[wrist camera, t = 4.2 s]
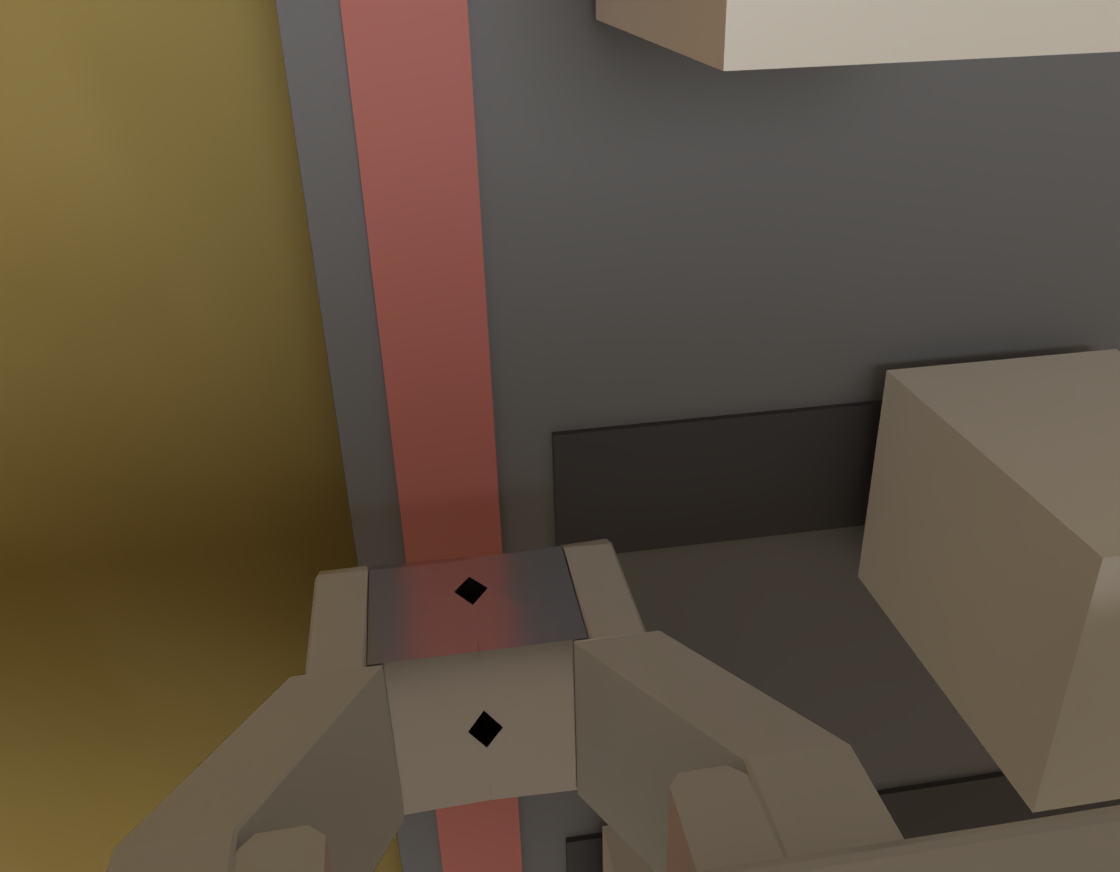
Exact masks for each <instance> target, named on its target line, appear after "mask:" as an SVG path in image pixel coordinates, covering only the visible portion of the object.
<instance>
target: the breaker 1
mask: <svg viewBox="0 0 1120 872" xmlns="http://www.w3.org/2000/svg"><path fill="white" fill-rule="evenodd" d="M602 831H603V872H654V871H653V870H652V869H651V868H650V867H649V866H648V865H647V864H646V863H645V862H644V861H643V860H642V859H641V857H640V856H639V855H638V854H637V853H636V852H635V851H634V850H633V849H632V848H631V847H630V846H629V845H628V844H627V843H626V842H625V841H624V840H623V839H622V838H621V837H620V836H619V835H618V834H617V833H616V832H615V831H614V830H613V829H612V828H611V827H610V826H609V825H607V826H602Z"/></svg>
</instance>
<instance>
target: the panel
mask: <svg viewBox="0 0 1120 872" xmlns="http://www.w3.org/2000/svg"><path fill="white" fill-rule="evenodd" d="M275 1H276V8H277V15H278V22H279V28H280V35H281V42H282V49H283V56H284V63H285V70H286V76H287V83H288V90H289V97H290V104H291V111H292V117H293V124H294V131H295V138H296V145H297V152H298V159H299V165H300V172H301V179H302V186H303V193H304V200H305V206H306V213H307V220H308V227H309V234H310V241H311V248H312V254H313V261H314V268H315V275H316V282H317V289H318V296H319V302H320V309H321V316H322V323H323V330H324V337H325V343H326V350H327V357H328V364H329V371H330V378H331V385H332V391H333V398H334V405H335V412H336V419H337V426H338V432H339V439H340V446H341V453H342V460H343V467H344V474H345V480H346V487H347V494H348V501H349V508H350V515H351V521H352V528H353V535H354V542H355V549H356V556H357V563H358V567H360V566H367V567H368V568H370V566H372V565H383V564H394V563H405V562H416V561H427V560H438V559H449V558H460V557H467V558H472V557H480V556H487V555H495V554H503V553H510V552H518V551H526V550H533V549H541V548H549V547H556V546H561V545H565V544H572V543H579V542H586V541H593V540H599V539H608V540H609V541H610V542H612V544H613V547H614V550H615V552H616V555H617V557H618V560H619V563H620V565H621V568H622V571H623V573H624V576H625V578H626V581H627V584H628V586H629V589H630V591H631V594H632V597H633V599H634V602H635V605H636V607H637V610H638V612H639V615H640V618H641V620H642V623H643V625H644V628H645V631H646V632H651V631H661V632H663V633H665V634H666V635H668V636H670V637H671V638H673V639H675V640H676V641H678V642H680V643H681V644H683V645H685V646H686V647H688V648H690V649H691V650H693V651H695V652H696V653H698V654H700V655H701V656H703V657H705V658H706V659H708V660H710V661H711V662H713V663H715V664H716V665H718V666H720V667H721V668H723V669H725V670H726V671H728V672H730V673H731V674H733V675H735V676H736V677H738V678H740V679H741V680H743V681H745V682H746V683H748V684H750V685H751V686H753V687H755V688H756V689H758V690H760V691H761V692H763V693H765V694H766V695H768V696H770V697H771V698H773V699H775V700H776V701H778V702H780V703H781V704H783V705H785V706H786V707H788V708H790V709H791V710H793V711H795V712H796V713H798V714H800V715H801V716H803V717H805V718H806V719H808V720H810V721H811V722H813V723H815V724H816V725H818V726H820V727H821V728H823V729H825V730H826V731H828V732H830V733H831V734H833V735H835V736H836V737H838V738H840V739H841V740H843V741H845V742H846V743H848V744H850V745H851V747H852V749H853V751H854V752H855V754H856V756H857V757H858V759H859V761H860V763H861V764H862V766H863V768H864V770H865V771H866V773H867V775H868V777H869V778H870V780H871V782H872V784H873V785H874V787H875V789H876V791H877V792H878V794H879V796H880V798H881V799H882V801H883V803H884V805H885V806H886V808H887V810H888V811H889V813H890V815H891V817H892V818H893V820H894V822H895V824H896V825H897V827H898V829H899V831H900V832H901V834H902V836H903V838H904V839H909V838H915V837H922V836H928V835H935V834H941V833H947V832H954V831H960V830H967V829H973V828H979V827H986V826H992V825H999V824H1005V823H1011V822H1018V821H1024V820H1030V819H1036V818H1042V817H1048V816H1054V815H1060V814H1067V813H1073V812H1079V811H1085V810H1091V809H1097V808H1103V807H1110V806H1116V805H1120V799H1116V800H1110V801H1103V802H1097V803H1091V804H1084V805H1078V806H1072V807H1065V808H1059V809H1053V810H1046V811H1040V812H1034V813H1032V811H1031V810H1030V808H1029V807H1028V806H1027V804H1026V803H1025V802H1024V800H1023V799H1022V798H1021V796H1020V795H1019V794H1018V792H1017V791H1016V790H1015V788H1014V787H1013V786H1012V784H1011V783H1010V781H1009V780H1008V779H1007V777H1006V776H1005V775H1004V773H1003V772H1002V771H1001V769H1000V768H999V767H998V765H997V764H996V763H995V761H994V760H993V758H992V757H991V756H990V754H989V753H988V752H987V750H986V749H985V748H984V746H983V745H982V744H981V742H980V741H979V740H978V738H977V737H976V735H975V734H974V733H973V731H972V730H971V729H970V727H969V726H968V725H967V723H966V722H965V721H964V719H963V718H962V717H961V715H960V714H959V712H958V711H957V710H956V708H955V707H954V706H953V704H952V703H951V702H950V700H949V699H948V698H947V696H946V695H945V694H944V692H943V691H942V689H941V688H940V687H939V685H938V684H937V683H936V681H935V680H934V679H933V677H932V676H931V675H930V673H929V672H928V671H927V669H926V668H925V667H924V665H923V664H922V662H921V661H920V660H919V658H918V657H917V656H916V654H915V653H914V652H913V650H912V649H911V648H910V646H909V645H908V644H907V642H906V641H905V639H904V638H903V637H902V635H901V634H900V633H899V631H898V630H897V629H896V627H895V626H894V625H893V623H892V622H891V621H890V619H889V618H888V616H887V615H886V614H885V612H884V611H883V610H882V608H881V607H880V606H879V604H878V603H877V602H876V600H875V599H874V598H873V596H872V595H871V593H870V592H869V591H868V589H867V588H866V587H865V585H864V584H863V583H862V581H861V580H860V579H859V577H858V572H859V565H860V558H861V551H862V544H863V536H864V529H865V522H866V515H867V508H868V500H869V493H870V486H871V479H872V472H873V464H874V457H875V450H876V443H877V436H878V428H879V421H880V414H881V407H882V400H883V393H884V385H885V378H886V371H887V370H894V369H905V368H915V367H926V366H937V365H948V364H959V363H969V362H980V361H991V360H1002V359H1012V358H1023V357H1034V356H1045V355H1056V354H1066V353H1077V352H1088V351H1099V350H1110V349H1117V350H1119V351H1120V52H1102V53H1082V54H1062V55H1042V56H1022V57H1001V58H981V59H961V60H941V61H921V62H900V63H880V64H860V65H840V66H819V67H799V68H779V69H759V70H739V71H722V70H719V69H717V68H714V67H712V66H709V65H707V64H704V63H702V62H699V61H697V60H694V59H692V58H690V57H687V56H685V55H682V54H680V53H677V52H675V51H672V50H670V49H667V48H665V47H662V46H660V45H658V44H655V43H653V42H650V41H648V40H645V39H643V38H640V37H638V36H635V35H633V34H630V33H628V32H626V31H623V30H621V29H618V28H616V27H613V26H611V25H608V24H606V23H603V22H601V21H598V20H596V0H275ZM607 825H608V824H607V823H606V822H605V821H604V820H603V819H602V818H601V817H600V816H599V815H598V814H597V813H596V812H595V811H594V810H593V809H592V808H591V807H590V806H589V805H588V804H587V803H586V802H585V801H584V800H583V799H582V798H581V797H580V796H579V795H578V790H572V791H564V792H555V793H547V794H538V795H530V796H521V797H512V798H504V799H495V800H488V801H482V802H476V803H470V804H464V805H459V806H453V807H447V808H441V809H435V810H430V811H424V812H418V813H412V814H406V815H404V821H403V823H402V825H401V826H400V828H399V830H398V832H397V836H398V843H399V850H400V857H401V864H402V871H403V872H603V831H602V826H607Z"/></svg>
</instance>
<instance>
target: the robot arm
mask: <svg viewBox="0 0 1120 872" xmlns="http://www.w3.org/2000/svg"><path fill="white" fill-rule="evenodd" d="M572 790H578V795H579V796H580V797H581V798H582V799H583V800H584V801H585V802H586V803H587V804H588V805H589V806H590V807H591V808H592V809H593V810H594V811H595V812H596V813H597V814H598V815H599V816H600V817H601V818H602V819H603V820H604V821H605V822H606V823H607V824H608V825H609V826H610V827H611V828H612V829H613V830H614V831H615V832H616V833H617V834H618V835H619V836H620V837H621V838H622V839H623V840H624V841H625V842H626V843H627V844H628V845H629V846H630V847H631V848H632V849H633V850H634V851H635V852H636V853H637V854H638V855H639V856H640V857H641V859H642V860H643V861H644V862H645V863H646V864H647V865H648V866H649V867H650V868H651V869H652V870H653V871H654V872H1120V805H1116V806H1110V807H1103V808H1097V809H1091V810H1085V811H1079V812H1073V813H1067V814H1060V815H1054V816H1048V817H1042V818H1036V819H1030V820H1024V821H1018V822H1011V823H1005V824H999V825H992V826H986V827H979V828H973V829H967V830H960V831H954V832H947V833H941V834H935V835H928V836H922V837H915V838H909V839H904V838H903V836H902V834H901V832H900V831H899V829H898V827H897V825H896V824H895V822H894V820H893V818H892V817H891V815H890V813H889V811H888V810H887V808H886V806H885V805H884V803H883V801H882V799H881V798H880V796H879V794H878V792H877V791H876V789H875V787H874V785H873V784H872V782H871V780H870V778H869V777H868V775H867V773H866V771H865V770H864V768H863V766H862V764H861V763H860V761H859V759H858V757H857V756H856V754H855V752H854V751H853V749H852V747H851V745H850V744H848V743H846V742H845V741H843V740H841V739H840V738H838V737H836V736H835V735H833V734H831V733H830V732H828V731H826V730H825V729H823V728H821V727H820V726H818V725H816V724H815V723H813V722H811V721H810V720H808V719H806V718H805V717H803V716H801V715H800V714H798V713H796V712H795V711H793V710H791V709H790V708H788V707H786V706H785V705H783V704H781V703H780V702H778V701H776V700H775V699H773V698H771V697H770V696H768V695H766V694H765V693H763V692H761V691H760V690H758V689H756V688H755V687H753V686H751V685H750V684H748V683H746V682H745V681H743V680H741V679H740V678H738V677H736V676H735V675H733V674H731V673H730V672H728V671H726V670H725V669H723V668H721V667H720V666H718V665H716V664H715V663H713V662H711V661H710V660H708V659H706V658H705V657H703V656H701V655H700V654H698V653H696V652H695V651H693V650H691V649H690V648H688V647H686V646H685V645H683V644H681V643H680V642H678V641H676V640H675V639H673V638H671V637H670V636H668V635H666V634H665V633H663V632H661V631H651V632H646V631H645V628H644V625H643V623H642V620H641V618H640V615H639V612H638V610H637V607H636V605H635V602H634V599H633V597H632V594H631V591H630V589H629V586H628V584H627V581H626V578H625V576H624V573H623V571H622V568H621V565H620V563H619V560H618V557H617V555H616V552H615V550H614V547H613V544H612V542H610V541H609V540H608V539H599V540H593V541H586V542H579V543H572V544H565V545H561V546H556V547H549V548H541V549H533V550H526V551H518V552H510V553H503V554H495V555H487V556H480V557H472V558H467V557H460V558H449V559H438V560H427V561H416V562H405V563H394V564H383V565H372V566H370V568H368V567H367V566H360V567H351V568H343V569H334V570H326V571H320V572H319V573H318V575H317V577H316V578H315V585H314V594H313V604H312V613H311V622H310V632H309V641H308V650H307V660H306V669H305V675H297V676H291V677H289V678H288V679H287V680H286V681H285V682H284V683H283V684H282V685H281V686H280V687H279V688H278V689H277V690H276V691H275V692H274V693H273V694H272V695H271V696H270V697H269V698H268V699H266V700H265V701H264V702H263V703H262V704H261V705H260V706H259V707H258V708H257V709H256V710H255V711H254V712H253V713H252V714H251V715H250V716H249V717H248V718H247V719H246V720H245V721H244V722H243V723H242V724H241V725H240V726H239V727H238V728H237V729H236V730H235V731H234V732H233V733H232V734H231V735H230V736H229V737H228V738H227V739H226V740H225V741H223V742H222V743H221V744H220V745H219V746H218V747H217V748H216V749H215V750H214V751H213V752H212V753H211V754H210V755H209V756H208V757H207V758H206V759H205V760H204V761H203V762H202V763H201V764H200V765H199V766H198V767H197V768H196V769H195V770H194V771H193V772H192V773H191V774H190V775H189V776H188V777H187V778H186V779H185V780H184V781H183V782H181V783H180V784H179V785H178V786H177V787H176V788H175V789H174V790H173V791H172V792H171V793H170V794H169V795H168V796H167V797H166V798H165V799H164V800H163V801H162V802H161V803H160V804H159V805H158V806H157V807H156V808H155V809H154V810H153V811H152V812H151V813H150V814H149V815H148V816H147V817H146V818H145V819H144V820H143V821H142V822H141V823H140V824H138V825H137V826H136V827H135V828H134V829H133V830H132V831H131V832H130V833H129V834H128V835H127V836H126V837H125V838H124V839H123V840H122V841H121V842H120V843H119V844H118V845H117V846H116V847H115V848H114V849H113V852H112V856H111V859H110V862H109V866H108V869H107V872H374V870H375V869H376V867H377V865H378V864H379V862H380V860H381V859H382V857H383V855H384V853H385V852H386V850H387V848H388V847H389V845H390V843H391V842H392V840H393V838H394V837H395V835H396V833H397V832H398V830H399V828H400V826H401V825H402V823H403V821H404V815H406V814H412V813H418V812H424V811H430V810H435V809H441V808H447V807H453V806H459V805H464V804H470V803H476V802H482V801H488V800H495V799H504V798H512V797H521V796H530V795H538V794H547V793H555V792H564V791H572Z"/></svg>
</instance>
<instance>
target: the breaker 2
mask: <svg viewBox="0 0 1120 872" xmlns="http://www.w3.org/2000/svg"><path fill="white" fill-rule="evenodd" d="M596 20H598V21H601V22H603V23H606V24H608V25H611V26H613V27H616V28H618V29H621V30H623V31H626V32H628V33H630V34H633V35H635V36H638V37H640V38H643V39H645V40H648V41H650V42H653V43H655V44H658V45H660V46H662V47H665V48H667V49H670V50H672V51H675V52H677V53H680V54H682V55H685V56H687V57H690V58H692V59H694V60H697V61H699V62H702V63H704V64H707V65H709V66H712V67H714V68H717V69H719V70H722V71H739V70H759V69H779V68H799V67H819V66H840V65H860V64H880V63H900V62H921V61H941V60H961V59H981V58H1001V57H1022V56H1042V55H1062V54H1082V53H1102V52H1120V0H596Z"/></svg>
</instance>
